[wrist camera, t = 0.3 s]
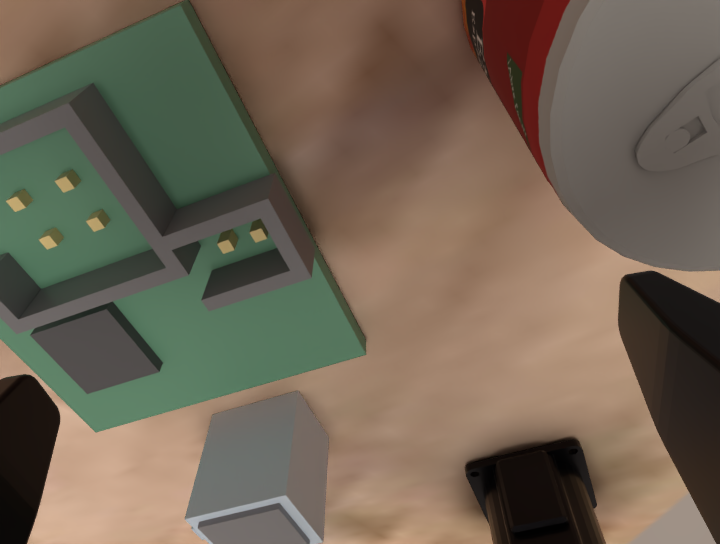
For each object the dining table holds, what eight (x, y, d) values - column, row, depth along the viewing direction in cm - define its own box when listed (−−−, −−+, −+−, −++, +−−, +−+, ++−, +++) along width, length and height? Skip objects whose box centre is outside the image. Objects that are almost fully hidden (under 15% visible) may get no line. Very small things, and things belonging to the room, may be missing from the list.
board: (369, 339, 27) (370, 385, 25) (102, 417, 30) (80, 465, 28) (193, -4, 19) (168, 16, 16) (-154, 156, 22) (-219, 193, 19)
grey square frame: (200, 246, 23) (189, 275, 21) (39, 303, 25) (16, 334, 23) (93, 82, 19) (68, 103, 18) (-90, 163, 21) (-128, 188, 19)
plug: (328, 436, 31) (323, 548, 26) (237, 460, 33) (214, 571, 28) (298, 390, 29) (285, 501, 24) (201, 417, 31) (169, 529, 25)
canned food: (409, 15, 19) (454, 151, 10) (590, -256, 15) (930, -433, 6) (574, 137, 21) (728, 334, 12) (765, -69, 18) (1190, 2, 9)
